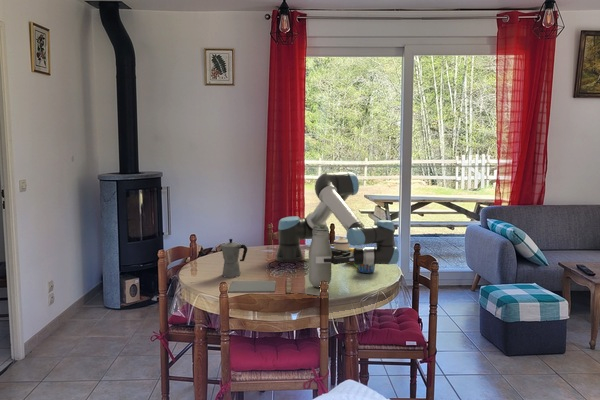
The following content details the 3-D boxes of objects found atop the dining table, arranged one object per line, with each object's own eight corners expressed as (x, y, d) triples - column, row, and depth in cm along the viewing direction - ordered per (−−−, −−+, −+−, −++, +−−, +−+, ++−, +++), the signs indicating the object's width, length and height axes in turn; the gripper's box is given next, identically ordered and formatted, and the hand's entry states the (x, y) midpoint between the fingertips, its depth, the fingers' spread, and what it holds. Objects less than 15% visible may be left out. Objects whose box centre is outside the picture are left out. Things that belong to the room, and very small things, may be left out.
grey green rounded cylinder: (315, 291, 211) (315, 227, 208) (305, 285, 221) (305, 223, 218) (335, 288, 215) (335, 225, 212) (325, 282, 225) (325, 222, 222)
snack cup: (371, 267, 251) (371, 248, 251) (385, 271, 243) (385, 251, 242) (347, 272, 243) (347, 251, 242) (361, 275, 234) (361, 254, 233)
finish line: (286, 281, 228) (286, 279, 228) (291, 280, 228) (291, 279, 228) (286, 293, 208) (286, 292, 208) (291, 293, 208) (291, 292, 208)
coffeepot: (214, 276, 237) (213, 239, 235) (224, 271, 246) (223, 236, 244) (243, 279, 231) (242, 241, 229) (252, 274, 240) (251, 238, 238)
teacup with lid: (348, 254, 282) (348, 234, 281) (351, 258, 273) (351, 237, 272) (327, 255, 281) (327, 235, 280) (329, 258, 272) (329, 238, 271)
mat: (232, 282, 226) (232, 281, 226) (276, 281, 227) (276, 280, 227) (228, 292, 211) (228, 291, 210) (274, 291, 211) (274, 290, 211)
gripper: (367, 271, 205) (316, 271, 204) (359, 257, 230) (313, 258, 229) (367, 253, 204) (316, 254, 204) (359, 242, 229) (313, 242, 228)
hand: (314, 256), depth 216 cm, fingers open, 13 cm apart
